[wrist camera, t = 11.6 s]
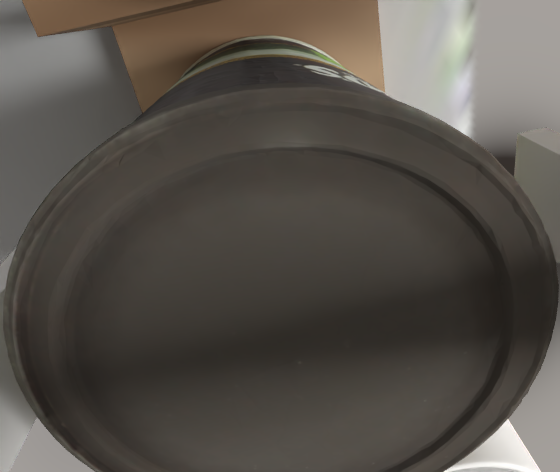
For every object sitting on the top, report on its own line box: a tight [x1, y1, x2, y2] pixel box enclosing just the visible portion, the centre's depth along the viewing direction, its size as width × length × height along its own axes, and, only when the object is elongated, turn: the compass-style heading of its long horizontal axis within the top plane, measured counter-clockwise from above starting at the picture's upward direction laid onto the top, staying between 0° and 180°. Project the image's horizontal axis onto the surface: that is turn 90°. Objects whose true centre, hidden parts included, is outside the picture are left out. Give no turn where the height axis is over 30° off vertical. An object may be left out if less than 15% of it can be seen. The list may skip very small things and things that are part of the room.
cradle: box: [22, 0, 385, 113], centre depth 17 cm, size 16×11×10 cm
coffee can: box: [3, 35, 559, 472], centre depth 14 cm, size 10×10×14 cm
